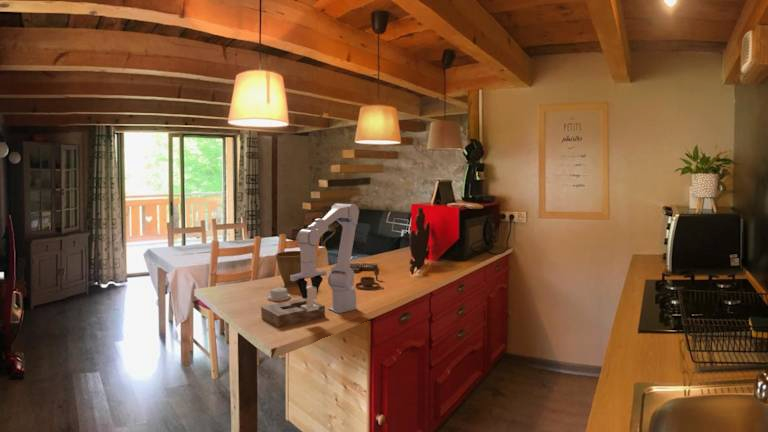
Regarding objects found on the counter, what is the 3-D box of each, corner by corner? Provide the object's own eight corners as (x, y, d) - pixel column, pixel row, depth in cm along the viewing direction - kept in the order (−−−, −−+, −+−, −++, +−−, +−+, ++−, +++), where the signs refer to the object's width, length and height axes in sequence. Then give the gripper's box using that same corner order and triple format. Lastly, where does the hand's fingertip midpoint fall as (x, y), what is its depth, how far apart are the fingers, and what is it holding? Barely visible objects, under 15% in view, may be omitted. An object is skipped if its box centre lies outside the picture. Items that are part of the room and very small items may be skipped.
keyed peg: (312, 306, 184) (311, 284, 183) (318, 309, 180) (318, 287, 179) (300, 308, 181) (300, 286, 180) (307, 311, 177) (306, 289, 176)
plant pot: (283, 280, 250) (282, 250, 249) (310, 281, 248) (309, 251, 246) (272, 287, 236) (271, 255, 234) (301, 288, 233) (300, 256, 232)
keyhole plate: (306, 308, 201) (306, 297, 201) (325, 316, 190) (324, 305, 189) (261, 317, 189) (261, 306, 189) (278, 327, 177) (277, 315, 177)
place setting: (346, 286, 238) (346, 275, 238) (376, 280, 252) (376, 269, 252) (370, 293, 226) (370, 281, 225) (399, 285, 240) (399, 274, 239)
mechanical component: (282, 294, 224) (263, 298, 217) (282, 285, 224) (263, 289, 217) (294, 298, 217) (275, 303, 210) (294, 289, 217) (274, 293, 210)
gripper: (319, 257, 186) (320, 291, 188) (285, 262, 178) (287, 298, 179) (329, 259, 181) (330, 295, 182) (294, 265, 172) (296, 302, 173)
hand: (309, 296), depth 180 cm, fingers closed on keyed peg, 4 cm apart
